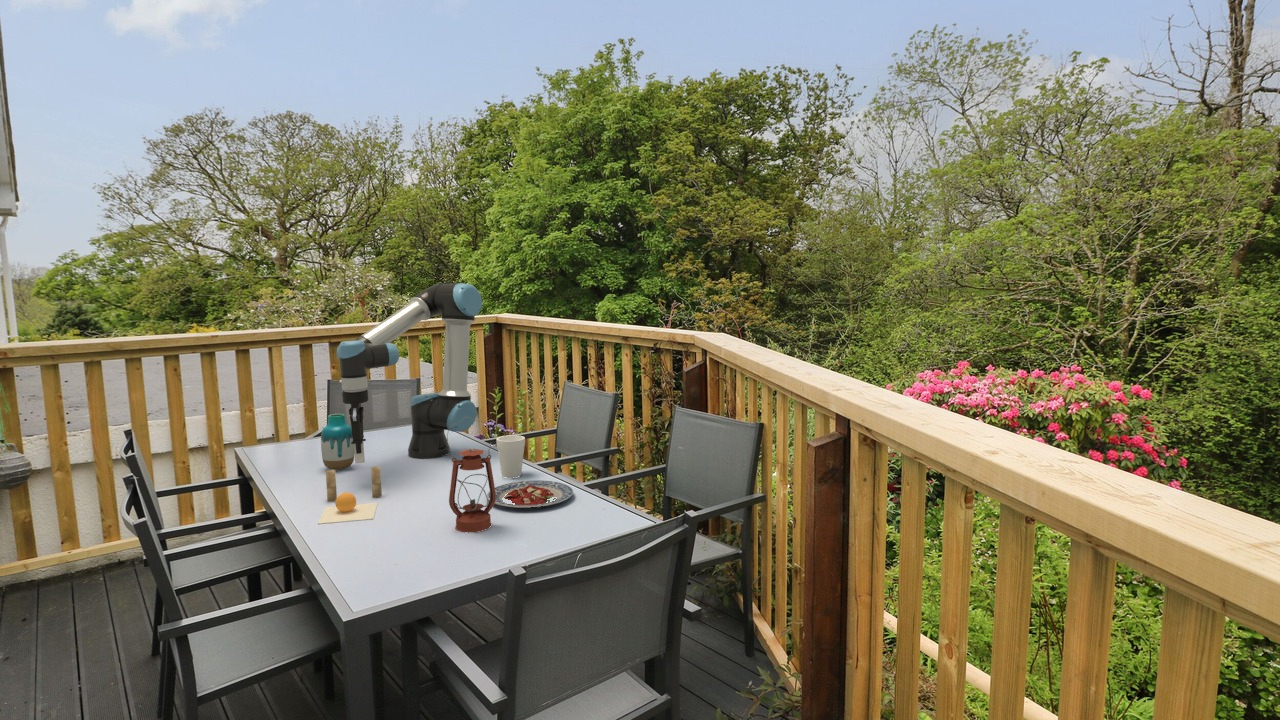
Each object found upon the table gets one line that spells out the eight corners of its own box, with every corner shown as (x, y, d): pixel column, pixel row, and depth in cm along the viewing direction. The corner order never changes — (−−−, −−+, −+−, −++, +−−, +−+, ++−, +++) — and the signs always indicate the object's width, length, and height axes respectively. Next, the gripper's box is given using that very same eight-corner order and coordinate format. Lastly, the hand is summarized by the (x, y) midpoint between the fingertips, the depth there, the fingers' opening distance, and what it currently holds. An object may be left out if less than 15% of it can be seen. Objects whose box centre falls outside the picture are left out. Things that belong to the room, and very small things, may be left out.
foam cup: (491, 478, 227) (490, 440, 226) (507, 471, 236) (506, 434, 234) (516, 481, 224) (515, 442, 222) (530, 473, 232) (530, 436, 231)
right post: (381, 494, 209) (380, 466, 208) (381, 497, 207) (379, 468, 206) (372, 495, 208) (371, 467, 207) (372, 498, 206) (370, 469, 205)
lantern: (472, 535, 176) (469, 421, 172) (445, 527, 181) (441, 417, 178) (499, 524, 184) (496, 415, 181) (472, 517, 189) (469, 411, 186)
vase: (347, 473, 233) (344, 418, 230) (316, 473, 233) (313, 418, 231) (360, 465, 243) (358, 412, 241) (331, 464, 243) (328, 412, 241)
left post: (337, 498, 205) (335, 469, 204) (336, 501, 203) (334, 471, 202) (328, 499, 205) (326, 470, 204) (326, 501, 202) (325, 472, 201)
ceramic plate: (469, 500, 205) (469, 490, 205) (537, 482, 224) (537, 473, 224) (522, 520, 188) (522, 510, 187) (590, 499, 206) (590, 489, 206)
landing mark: (377, 503, 201) (377, 502, 201) (373, 519, 188) (373, 518, 188) (325, 507, 197) (325, 507, 197) (317, 524, 184) (317, 523, 184)
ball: (353, 505, 190) (356, 515, 194) (356, 488, 194) (358, 499, 198) (332, 505, 189) (335, 516, 193) (335, 489, 193) (338, 499, 196)
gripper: (344, 387, 220) (349, 458, 223) (339, 394, 207) (344, 469, 210) (369, 385, 222) (374, 456, 225) (365, 392, 209) (370, 466, 213)
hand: (360, 462), depth 218 cm, fingers closed
